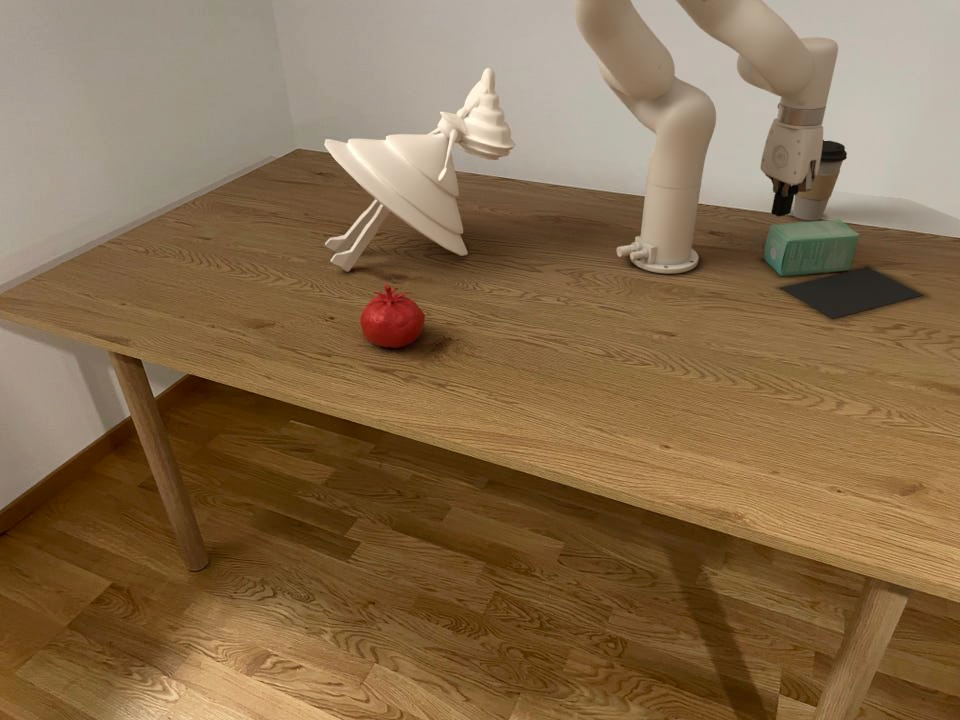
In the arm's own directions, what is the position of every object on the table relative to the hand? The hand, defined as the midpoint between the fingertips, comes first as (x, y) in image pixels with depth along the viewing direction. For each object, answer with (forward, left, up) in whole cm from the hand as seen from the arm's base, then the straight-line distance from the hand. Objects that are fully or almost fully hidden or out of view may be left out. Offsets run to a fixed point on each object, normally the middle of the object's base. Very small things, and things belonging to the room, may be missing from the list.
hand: (780, 213), depth 137 cm
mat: (0, -20, -7) cm, 21 cm away
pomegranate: (-77, -3, -7) cm, 78 cm away
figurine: (-63, +27, -7) cm, 69 cm away
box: (0, -9, -7) cm, 11 cm away
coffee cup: (+18, +10, -7) cm, 22 cm away
